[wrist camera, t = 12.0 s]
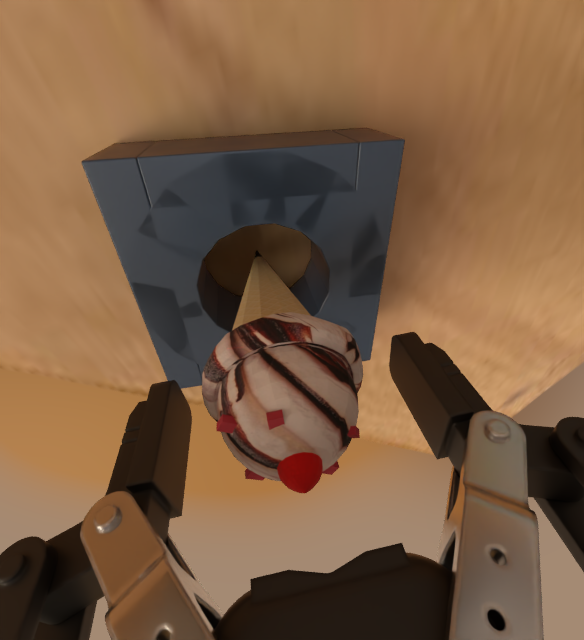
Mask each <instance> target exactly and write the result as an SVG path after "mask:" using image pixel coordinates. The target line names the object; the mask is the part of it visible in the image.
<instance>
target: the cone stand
mask: <svg viewBox="0 0 584 640" xmlns="http://www.w3.org/2000/svg"><path fill="white" fill-rule="evenodd" d="M404 143H405V140H404V139H402V138H398V137H395V136H392V135H389V134H385V133H382V132H379V131H375V130H372V129H369V128H357V129H341V130H332V131H331V130H325V131H309V132H293V133H277V134H260V135H244V136H228V137H212V138H196V139H180V140H164V141H156V142H155V141H149V142H133V143H117V144H113V145H111V146H109V147H107V148H105V149H104V150H102V151H100V152H98V153H96V154H94V155H92V156H91V157H89V158H87V159H85V160H83V161H82V165H83V168H84V170H85V173H86V175H87V178H88V180H89V183H90V186H91V188H92V191H93V193H94V196H95V198H96V201H97V203H98V206H99V208H100V211H101V213H102V216H103V218H104V221H105V223H106V226H107V228H108V231H109V233H110V236H111V238H112V241H113V244H114V246H115V249H116V251H117V254H118V256H119V259H120V261H121V264H122V266H123V269H124V271H125V274H126V276H127V279H128V281H129V284H130V286H131V289H132V291H133V294H134V296H135V299H136V302H137V304H138V307H139V309H140V312H141V314H142V317H143V319H144V322H145V324H146V327H147V329H148V332H149V334H150V337H151V339H152V342H153V344H154V347H155V349H156V352H157V354H158V357H159V360H160V362H161V365H162V367H163V370H164V372H165V375H166V377H167V380H168V381H171V380H175V381H176V382H177V383H178V385H179V387H180V389H181V388H187V387H194V386H201V385H202V374H203V371H204V368H205V365H206V363H207V361H208V358H209V357H210V355H211V353H212V352H213V350H214V348H215V347H216V346H217V344H218V343H219V342H220V341H221V340H222V339H223V337H224V336H225V335H226V334H227V333H229V332H231V331H232V329H233V326H234V323H235V319H236V316H237V313H238V310H239V306H240V303H241V300H242V297H241V296H236V295H233V294H232V293H230V292H229V291H227V290H226V289H224V288H222V287H221V286H219V285H218V284H217V283H216V281H215V280H214V278H213V277H212V276H211V274H210V273H209V272H208V270H207V269H206V265H205V260H204V258H205V257H206V256H207V254H208V253H209V252H210V251H211V249H212V248H213V247H214V246H215V244H216V243H217V242H218V241H219V240H220V239H222V238H223V237H225V236H227V235H229V234H231V233H233V232H235V231H237V230H239V229H241V228H242V227H244V226H252V225H263V224H273V223H275V224H278V225H281V226H284V227H288V228H291V229H294V230H298V231H301V232H302V233H303V234H304V235H306V236H307V237H308V238H309V239H310V240H311V259H310V261H309V264H308V266H307V268H306V271H305V273H304V275H303V276H302V277H301V278H300V279H299V280H298V281H297V282H296V283H295V284H294V285H293V286H292V288H290V289H289V290H290V291H291V292H292V293H293V294H294V296H295V297H296V298H297V299H298V301H299V302H300V303H301V304H302V305H303V307H304V308H305V309H306V310H307V311H308V313H309V314H310V315H311V316H313V317H316V318H320V319H323V320H326V321H329V322H331V323H334V324H337V325H339V326H341V327H344V328H346V329H347V330H348V331H349V332H350V333H351V335H352V336H353V338H354V339H355V341H356V343H357V346H358V348H359V351H360V355H361V359H362V361H367V360H370V358H371V352H372V345H373V339H374V333H375V326H376V320H377V314H378V307H379V301H380V295H381V288H382V282H383V276H384V269H385V263H386V257H387V250H388V244H389V238H390V231H391V225H392V219H393V212H394V206H395V200H396V193H397V187H398V181H399V174H400V168H401V162H402V155H403V149H404Z"/></svg>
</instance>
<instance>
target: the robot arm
mask: <svg viewBox="0 0 584 640" xmlns="http://www.w3.org/2000/svg"><path fill="white" fill-rule="evenodd" d="M389 367H390V373H391V376H392V379H393V381H394V383H395V384H396V386H397V388H398V390H399V392H400V393H401V395H402V397H403V399H404V401H405V402H406V404H407V406H408V408H409V410H410V411H411V413H412V415H413V417H414V419H415V420H416V422H417V424H418V426H419V428H420V429H421V431H422V433H423V435H424V437H425V438H426V440H427V442H428V444H429V446H430V447H431V449H432V451H433V453H434V455H435V456H436V458H437V459H440V458H445V457H449V459H450V460H451V462H452V464H453V467H452V472H451V479H450V486H449V493H448V501H447V507H446V514H445V520H444V526H443V531H442V534H441V538H440V543H439V548H438V553H437V560H436V562H435V561H433V560H431V559H429V558H426V557H423V556H420V555H417V554H413V553H406V552H405V550H404V547H403V545H402V543H399V544H395V545H391V546H387V547H383V548H378V549H374V550H370V551H366V552H364V553H362V554H361V555H359V556H358V557H356V558H354V559H353V560H351V561H349V562H348V563H346V564H345V565H343V566H341V567H340V568H338V569H337V570H335V571H334V572H331V573H315V572H305V571H293V570H287V571H282V572H279V573H274V574H270V575H266V576H262V577H257V578H254V579H251V590H250V591H248V592H247V593H245V594H244V595H243V596H242V597H240V598H239V599H238V600H237V601H236V602H235V603H234V604H233V605H232V606H231V607H230V608H229V609H228V610H227V612H226V613H225V614H224V615H223V614H222V612H221V610H220V609H219V607H218V606H217V604H216V603H215V602H214V600H213V599H212V597H211V596H210V595H209V593H208V592H207V591H206V590H205V588H204V587H203V586H202V584H201V583H200V581H199V580H198V579H197V577H196V575H195V574H194V572H193V571H192V569H191V568H190V566H189V564H188V563H187V561H186V560H185V558H184V557H183V556H182V554H181V552H180V550H179V549H178V548H177V546H176V544H175V543H174V541H173V540H172V538H171V536H170V535H169V534H168V527H169V520H170V518H175V517H179V516H182V507H183V498H184V489H185V479H186V469H187V461H188V451H189V442H190V433H191V424H192V416H191V410H190V407H189V404H188V402H187V401H186V399H185V397H184V395H183V393H182V391H181V389H180V387H179V385H178V383H177V382H176V381H175V380H171V381H166V382H161V383H156V384H152V386H151V387H150V391H149V395H148V399H147V401H142V402H139V403H138V405H137V406H136V407H135V409H134V410H133V412H132V413H131V414H130V416H129V419H128V423H127V426H126V429H125V431H126V433H124V436H123V439H122V445H121V446H120V449H119V453H118V456H117V460H116V463H115V466H114V470H113V473H112V477H111V480H110V483H109V487H108V490H107V492H106V495H105V496H104V497H103V498H102V499H100V500H99V501H98V502H97V503H95V504H94V506H93V507H92V508H91V509H90V510H89V512H88V513H87V515H86V516H85V518H84V520H83V521H82V522H81V523H79V524H77V525H75V526H74V527H72V528H70V529H68V530H66V531H65V532H63V533H61V534H59V535H57V536H55V537H54V538H52V539H50V540H48V541H44V540H42V539H41V538H39V537H27V538H24V539H21V540H19V541H17V542H16V543H14V544H13V545H11V546H10V547H9V548H7V549H6V550H5V551H4V552H3V553H2V554H1V555H0V640H89V637H90V633H91V628H92V623H93V618H94V613H95V608H96V604H97V600H99V599H100V598H102V597H103V596H105V598H106V601H107V603H108V608H109V610H108V612H107V613H106V615H105V622H106V626H107V630H108V632H109V635H110V637H111V640H544V638H543V616H542V596H541V575H540V553H539V532H538V521H537V517H536V514H535V512H534V511H532V510H530V508H529V505H528V497H534V499H535V500H536V502H537V503H538V504H539V506H540V508H541V509H542V511H543V512H544V514H545V515H546V517H547V518H548V519H549V521H550V523H551V524H552V526H553V527H554V529H555V530H556V532H557V533H558V534H559V536H560V537H561V539H562V540H563V542H564V543H565V545H566V546H567V548H568V549H569V551H570V552H571V554H572V555H573V557H574V558H575V560H576V561H577V563H578V564H579V566H580V567H581V568H582V570H583V572H584V418H579V417H567V418H564V419H562V420H560V421H559V423H558V424H557V425H556V427H555V428H553V427H542V426H529V425H521V424H518V423H517V422H515V421H514V420H513V419H512V418H510V417H508V416H507V415H504V414H502V413H499V412H496V411H493V410H492V409H491V408H490V407H489V406H488V405H487V403H486V402H485V401H484V400H483V398H482V397H481V396H480V395H479V393H478V392H477V391H476V390H475V388H474V387H473V386H472V385H471V384H470V382H469V381H468V380H467V379H466V377H465V376H464V375H463V374H462V373H461V372H460V370H459V369H458V367H457V366H456V365H455V364H453V361H452V360H451V359H450V357H449V356H448V355H447V354H446V353H445V351H443V350H442V349H440V348H439V347H437V346H436V345H434V344H433V343H427V344H424V343H423V342H422V340H421V339H420V338H419V336H418V335H417V334H416V333H415V332H410V333H405V334H400V335H395V336H393V337H392V342H391V352H390V363H389Z"/></svg>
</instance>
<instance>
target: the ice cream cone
mask: <svg viewBox="0 0 584 640" xmlns="http://www.w3.org/2000/svg"><path fill="white" fill-rule="evenodd" d="M362 378H363V365H362V359H361V355H360V351H359V348H358V346H357V343H356V341H355V339H354V338H353V336H352V335H351V333H350V332H349V331H348V330H347V329H346V328H344V327H341V326H339V325H337V324H334V323H331V322H329V321H326V320H323V319H320V318H316V317H313V316H311V315H310V314H309V313H308V311H307V310H306V309H305V308H304V307H303V305H302V304H301V303H300V302H299V301H298V299H297V298H296V297H295V296H294V294H293V293H292V292H291V291H290V290H289V288H288V287H287V286H286V285H285V284H284V282H283V281H282V280H281V279H280V278H279V276H278V275H277V274H276V273H275V271H274V270H273V269H272V268H271V267H270V265H269V264H268V263H267V262H266V261H265V259H264V258H263V257H262V256H261V255H260V253H259V252H258V251H256V254H255V258H254V261H253V264H252V267H251V271H250V274H249V277H248V280H247V284H246V287H245V290H244V293H243V297H242V300H241V303H240V306H239V310H238V313H237V316H236V319H235V323H234V326H233V329H232V331H231V332H229V333H227V334H226V335H225V336H224V337H223V339H222V340H221V341H220V342H219V343H218V344H217V346H216V347H215V348H214V350H213V352H212V353H211V355H210V357H209V358H208V361H207V363H206V365H205V368H204V371H203V374H202V395H203V399H204V403H205V406H206V408H207V410H208V412H209V414H210V415H211V416H212V417H213V418H214V419H215V420H216V421H217V431H220V432H221V433H222V436H223V439H224V441H225V443H226V444H227V446H228V448H229V449H230V451H231V452H232V454H233V455H234V457H235V458H237V460H238V461H240V462H241V463H242V464H243V465H244V466H245V467H246V468H247V469H246V470H245V476H246V479H255V480H263V479H264V478H267V479H271V480H275V481H282V482H283V483H284V484H285V485H286V486H287V487H288V488H289V489H291V490H293V491H296V492H299V493H307V492H308V491H310V490H311V489H312V488H313V487H314V486H315V485H316V484H317V483H318V481H319V480H320V477H321V475H322V473H325V474H331V475H332V474H333V473H334V472H335V471H336V470H337V469H338V468H339V465H338V462H337V460H338V459H339V457H340V456H341V455H342V454H343V453H344V452H345V450H346V449H347V447H348V445H349V443H350V441H351V439H352V438H359V429H358V428H357V427H356V423H357V418H358V397H357V393H358V391H359V389H360V387H361V383H362Z"/></svg>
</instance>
